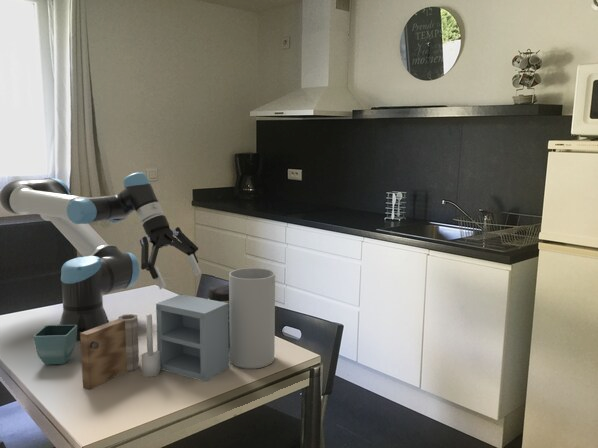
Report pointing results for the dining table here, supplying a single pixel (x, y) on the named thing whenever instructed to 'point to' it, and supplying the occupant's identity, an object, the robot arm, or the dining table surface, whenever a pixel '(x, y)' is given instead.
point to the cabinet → (188, 338)
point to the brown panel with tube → (109, 350)
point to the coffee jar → (220, 296)
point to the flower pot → (55, 343)
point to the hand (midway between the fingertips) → (181, 280)
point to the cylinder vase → (252, 317)
